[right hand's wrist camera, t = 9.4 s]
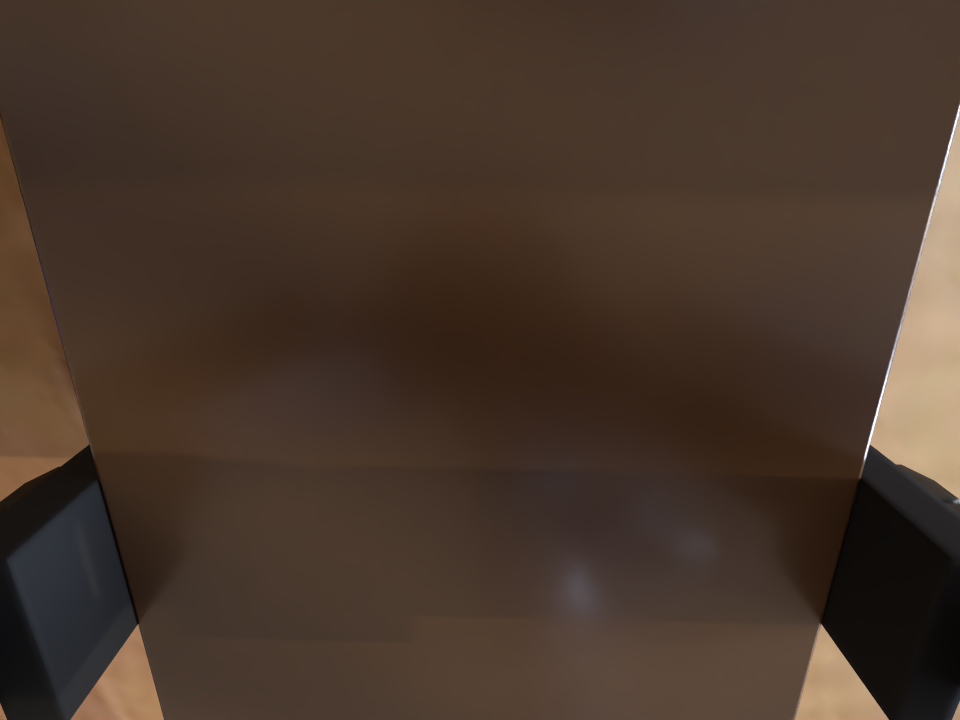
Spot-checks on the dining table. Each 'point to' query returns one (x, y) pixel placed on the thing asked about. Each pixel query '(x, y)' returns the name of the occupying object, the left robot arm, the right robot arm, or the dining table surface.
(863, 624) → the right robot arm
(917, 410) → the dining table surface
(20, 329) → the dining table surface
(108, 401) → the cabinet
